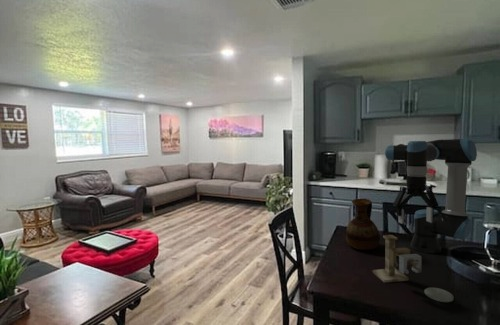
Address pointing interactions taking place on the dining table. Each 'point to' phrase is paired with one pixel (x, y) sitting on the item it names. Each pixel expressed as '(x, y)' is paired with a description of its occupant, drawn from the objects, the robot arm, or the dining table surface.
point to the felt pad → (439, 294)
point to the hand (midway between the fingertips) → (415, 222)
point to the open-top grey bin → (409, 257)
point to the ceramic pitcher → (362, 227)
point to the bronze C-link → (397, 251)
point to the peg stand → (390, 272)
